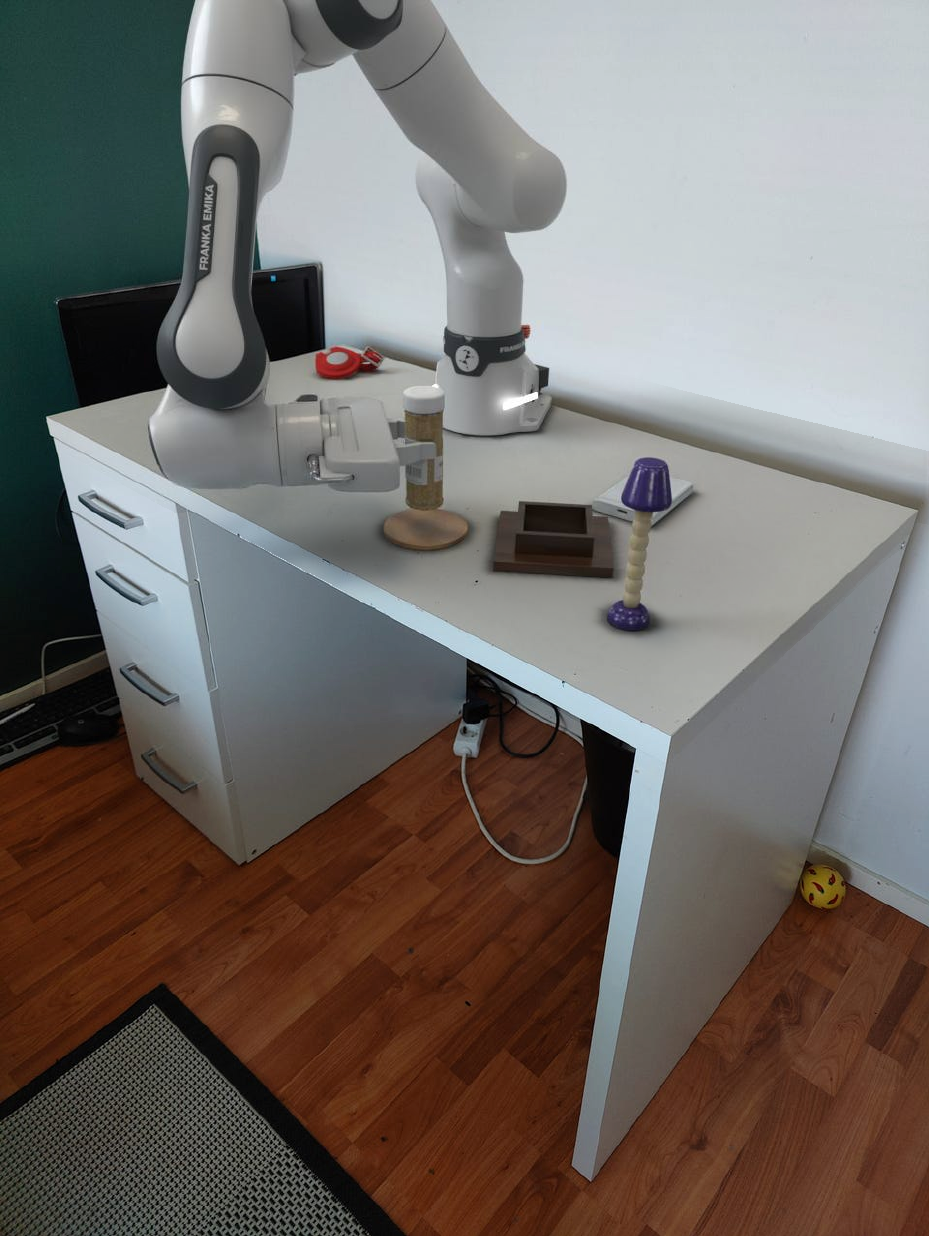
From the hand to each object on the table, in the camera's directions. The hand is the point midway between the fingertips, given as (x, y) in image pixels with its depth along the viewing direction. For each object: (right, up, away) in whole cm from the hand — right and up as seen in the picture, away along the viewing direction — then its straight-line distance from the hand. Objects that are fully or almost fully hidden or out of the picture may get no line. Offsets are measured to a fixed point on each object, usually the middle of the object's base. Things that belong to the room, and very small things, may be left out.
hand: (431, 439), depth 97 cm
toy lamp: (+20, -20, -10) cm, 30 cm away
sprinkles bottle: (-1, -7, +4) cm, 8 cm away
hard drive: (+27, -5, +14) cm, 30 cm away
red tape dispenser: (-17, +24, +59) cm, 66 cm away
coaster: (-1, -10, +6) cm, 11 cm away
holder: (+14, -12, +3) cm, 18 cm away
